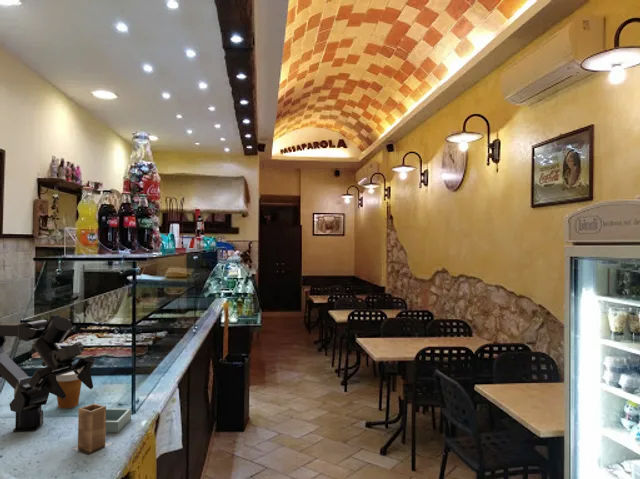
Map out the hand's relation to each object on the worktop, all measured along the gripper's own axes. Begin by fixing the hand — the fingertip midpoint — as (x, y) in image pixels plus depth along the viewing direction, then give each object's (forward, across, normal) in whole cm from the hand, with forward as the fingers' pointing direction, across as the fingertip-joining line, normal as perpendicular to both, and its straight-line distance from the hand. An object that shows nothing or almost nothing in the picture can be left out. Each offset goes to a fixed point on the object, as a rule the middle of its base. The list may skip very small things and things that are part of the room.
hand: (79, 392), depth 136 cm
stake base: (+15, -2, +6) cm, 16 cm away
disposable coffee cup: (-11, +18, +28) cm, 36 cm away
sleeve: (+14, -2, +5) cm, 16 cm away
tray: (+10, +10, +10) cm, 18 cm away
